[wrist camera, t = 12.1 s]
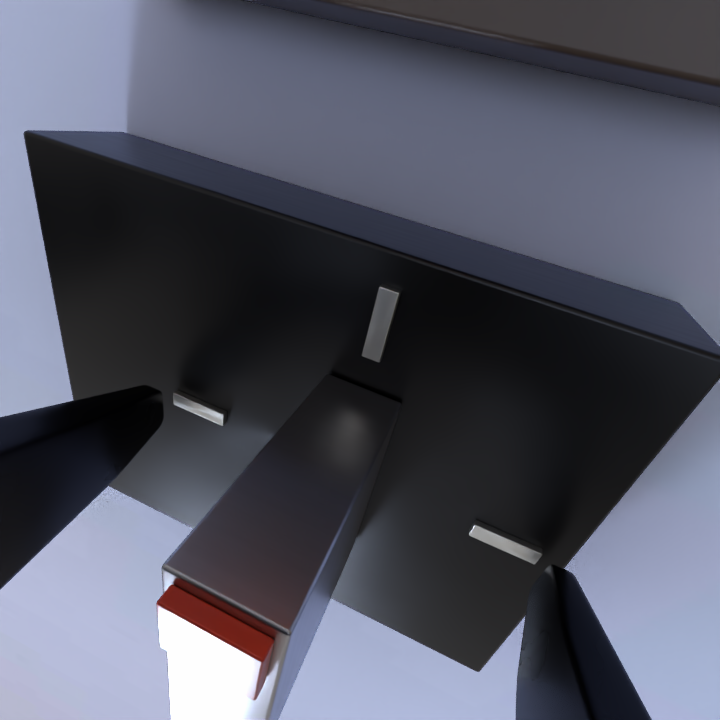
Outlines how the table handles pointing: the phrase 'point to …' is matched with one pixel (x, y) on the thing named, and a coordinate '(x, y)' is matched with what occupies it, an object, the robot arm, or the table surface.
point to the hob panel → (363, 368)
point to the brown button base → (560, 35)
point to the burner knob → (271, 558)
